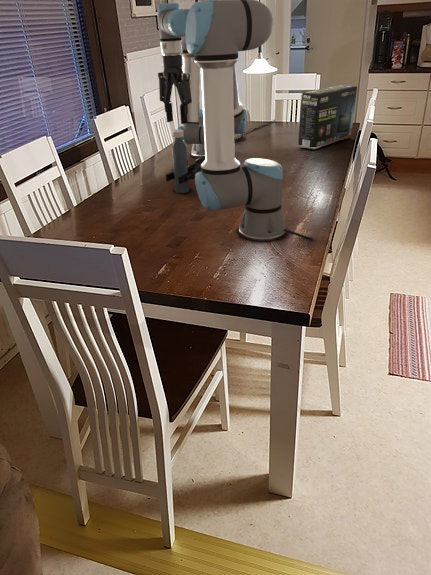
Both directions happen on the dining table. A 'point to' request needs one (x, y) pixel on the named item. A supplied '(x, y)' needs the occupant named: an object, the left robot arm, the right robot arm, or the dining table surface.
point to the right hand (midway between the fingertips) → (177, 122)
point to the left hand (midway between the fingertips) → (173, 179)
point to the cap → (177, 133)
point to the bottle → (180, 164)
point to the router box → (326, 115)
